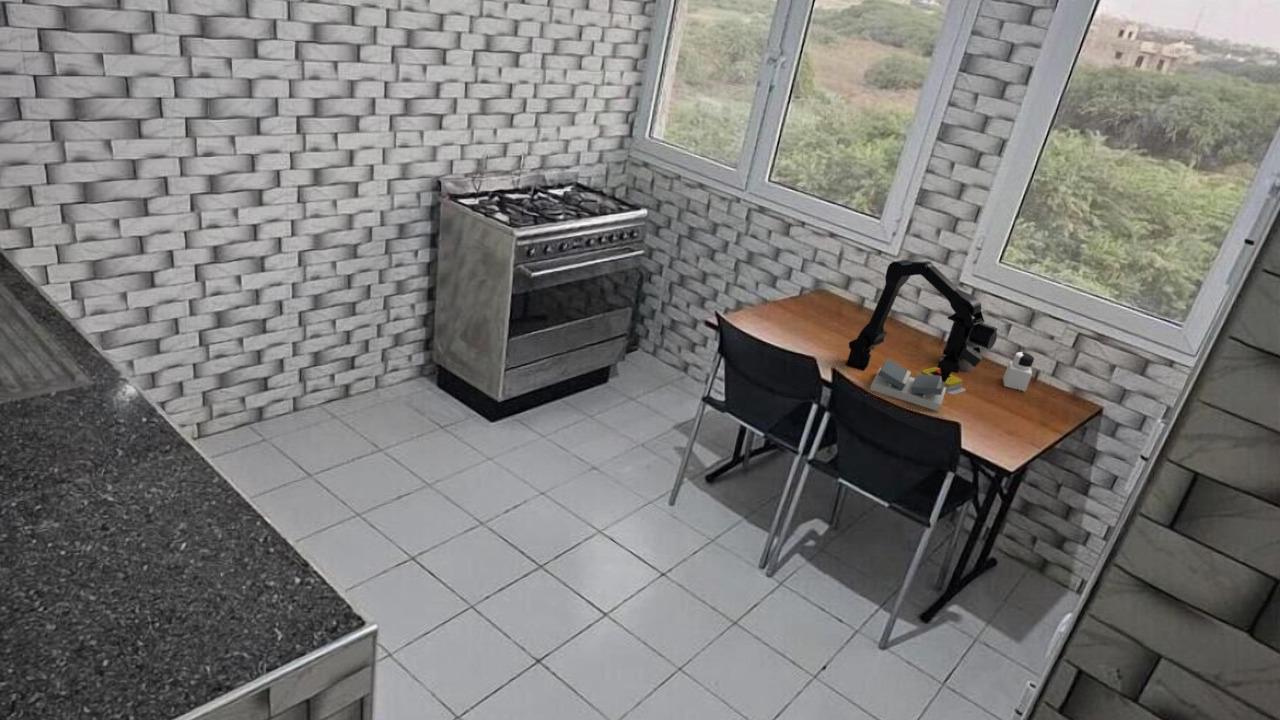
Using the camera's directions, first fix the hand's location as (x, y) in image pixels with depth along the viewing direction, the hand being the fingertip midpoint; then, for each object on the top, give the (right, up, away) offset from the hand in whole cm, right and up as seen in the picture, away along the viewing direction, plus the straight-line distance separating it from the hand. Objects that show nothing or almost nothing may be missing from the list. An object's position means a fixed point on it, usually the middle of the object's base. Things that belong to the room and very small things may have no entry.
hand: (943, 381), depth 267 cm
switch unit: (-9, -4, +7) cm, 12 cm away
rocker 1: (-14, +2, +6) cm, 15 cm away
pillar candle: (+19, +4, +36) cm, 40 cm away
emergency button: (+6, -2, +19) cm, 20 cm away
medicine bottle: (+34, -2, +27) cm, 44 cm away
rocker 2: (-4, -1, +2) cm, 5 cm away
